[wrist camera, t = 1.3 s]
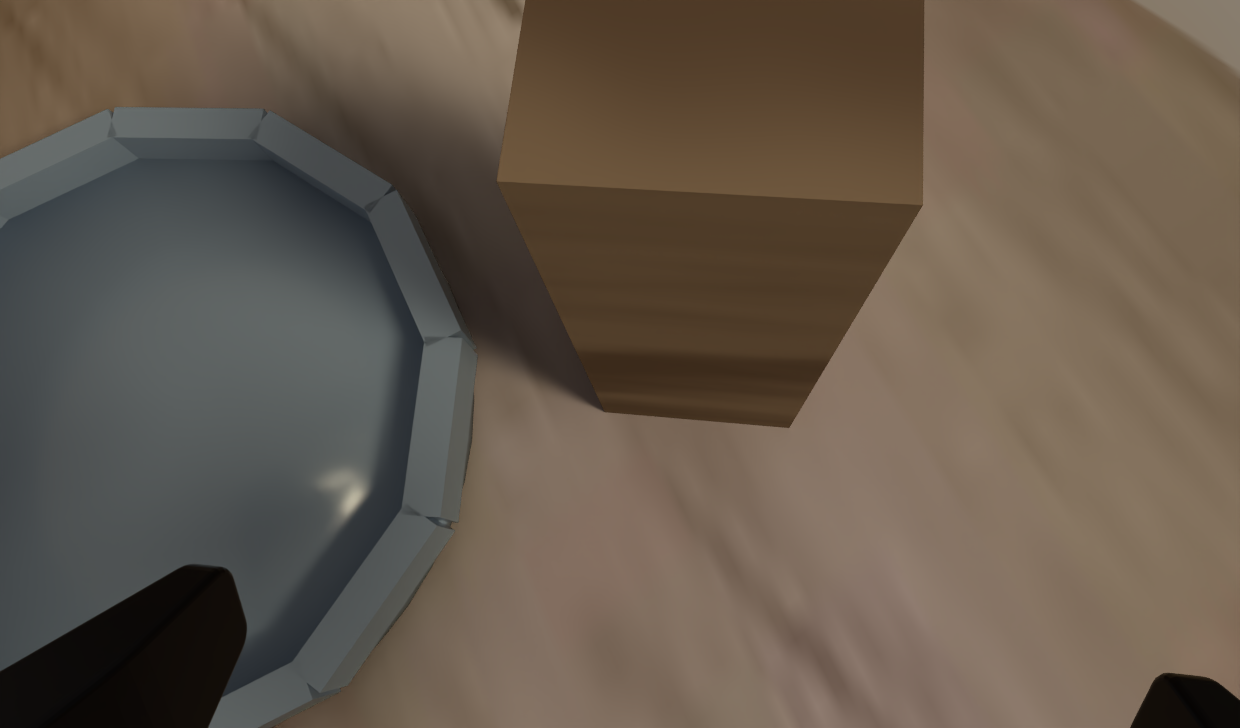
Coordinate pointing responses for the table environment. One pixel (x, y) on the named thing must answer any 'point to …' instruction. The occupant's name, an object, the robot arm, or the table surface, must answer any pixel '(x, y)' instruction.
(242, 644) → the robot arm
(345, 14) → the table surface
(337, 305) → the ceramic dish
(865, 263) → the walnut block
